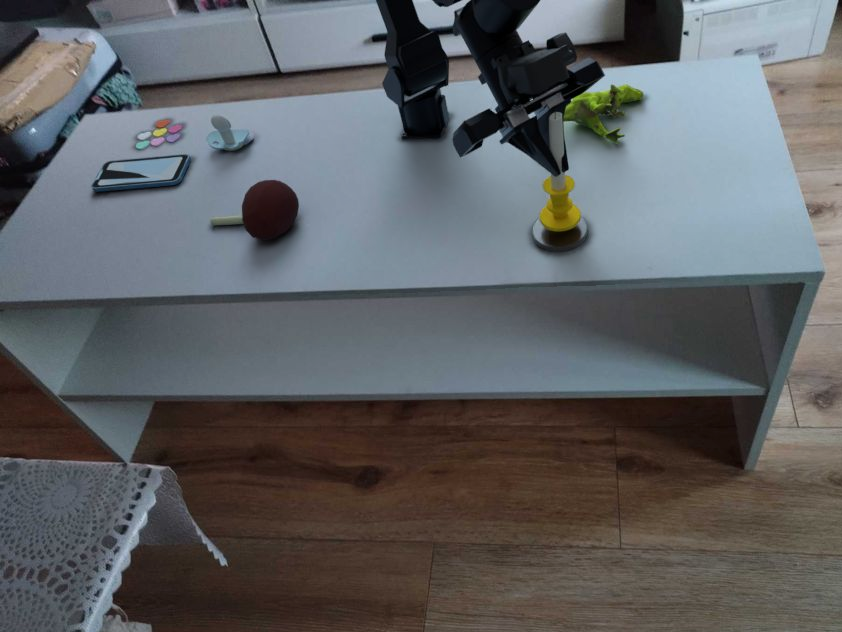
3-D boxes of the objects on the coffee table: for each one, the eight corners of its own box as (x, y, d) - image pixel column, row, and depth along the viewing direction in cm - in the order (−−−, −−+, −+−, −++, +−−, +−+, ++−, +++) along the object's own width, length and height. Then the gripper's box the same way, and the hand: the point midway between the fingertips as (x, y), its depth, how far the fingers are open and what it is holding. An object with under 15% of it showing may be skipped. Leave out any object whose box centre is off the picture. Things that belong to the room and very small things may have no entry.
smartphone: (177, 181, 110) (88, 189, 112) (180, 186, 111) (92, 193, 113) (190, 153, 115) (105, 160, 117) (193, 158, 116) (108, 165, 117)
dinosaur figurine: (581, 175, 98) (580, 137, 93) (528, 150, 103) (524, 113, 98) (670, 107, 104) (673, 68, 100) (616, 87, 110) (616, 49, 105)
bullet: (215, 221, 103) (265, 218, 102) (213, 227, 103) (263, 224, 101) (211, 215, 102) (262, 212, 101) (209, 221, 102) (259, 218, 100)
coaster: (529, 251, 90) (528, 246, 89) (536, 214, 94) (536, 210, 93) (584, 252, 88) (584, 248, 87) (589, 215, 92) (589, 211, 92)
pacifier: (223, 134, 119) (207, 154, 115) (208, 100, 114) (191, 120, 110) (262, 133, 117) (247, 154, 113) (248, 99, 112) (232, 120, 109)
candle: (541, 233, 88) (533, 128, 76) (538, 206, 92) (530, 100, 79) (582, 229, 88) (581, 122, 76) (578, 202, 91) (577, 94, 79)
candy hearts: (134, 151, 120) (133, 150, 119) (141, 126, 125) (140, 125, 124) (179, 141, 119) (179, 140, 119) (184, 117, 125) (184, 115, 124)
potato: (300, 215, 104) (315, 202, 99) (261, 255, 100) (275, 243, 95) (261, 177, 101) (275, 161, 96) (220, 216, 97) (232, 202, 92)
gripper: (449, 54, 70) (523, 193, 72) (594, -16, 75) (660, 117, 77) (423, 94, 81) (489, 214, 83) (552, 31, 86) (611, 146, 88)
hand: (562, 173), depth 82 cm, fingers closed on candle
